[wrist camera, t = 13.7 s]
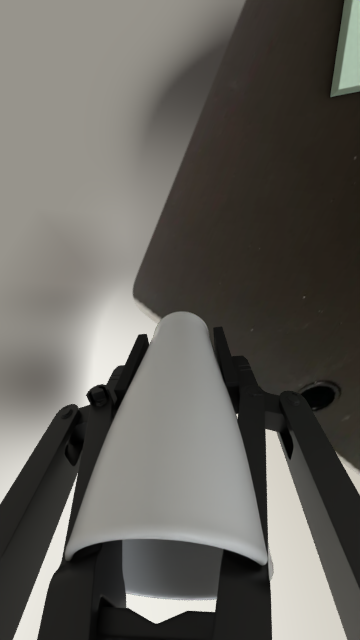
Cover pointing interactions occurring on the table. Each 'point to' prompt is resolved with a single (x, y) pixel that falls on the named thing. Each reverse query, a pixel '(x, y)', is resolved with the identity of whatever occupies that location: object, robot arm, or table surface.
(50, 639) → the robot arm
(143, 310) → the table surface
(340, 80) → the scale
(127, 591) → the drinking glass
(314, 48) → the table surface
